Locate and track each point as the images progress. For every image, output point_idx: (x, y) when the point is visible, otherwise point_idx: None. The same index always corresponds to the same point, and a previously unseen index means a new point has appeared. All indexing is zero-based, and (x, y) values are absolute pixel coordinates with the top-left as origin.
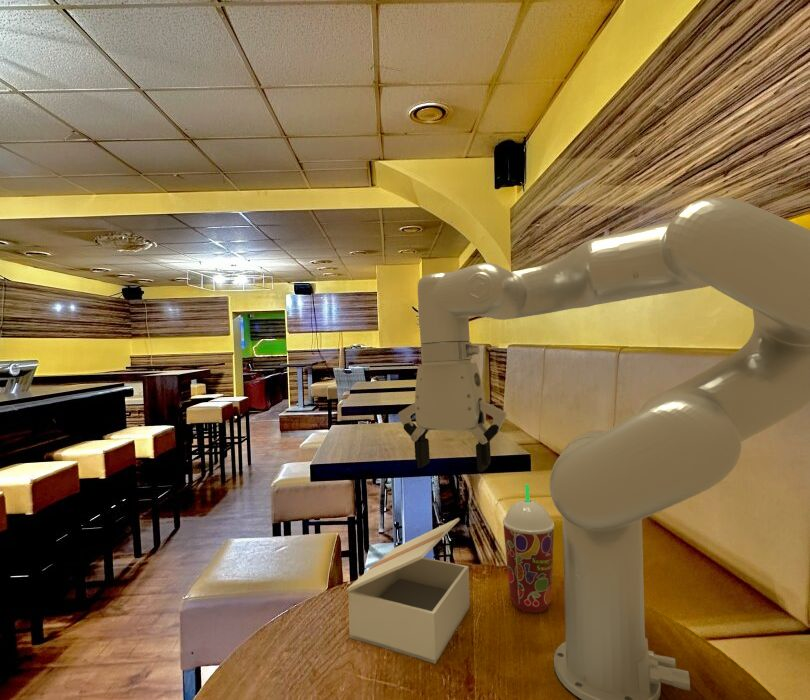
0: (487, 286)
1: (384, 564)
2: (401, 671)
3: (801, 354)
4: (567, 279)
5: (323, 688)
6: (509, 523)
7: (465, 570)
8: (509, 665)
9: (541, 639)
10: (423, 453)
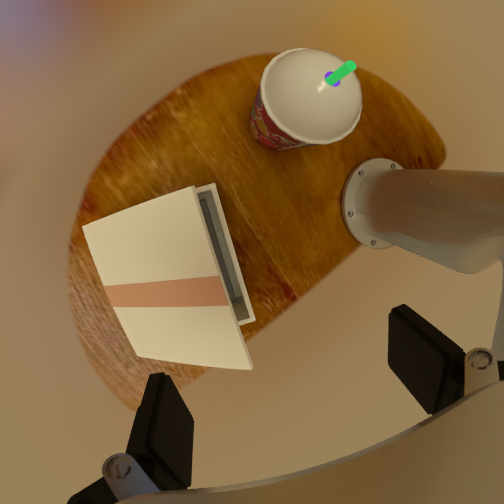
0: None
1: (143, 319)
2: None
3: None
4: None
5: (193, 374)
6: (297, 132)
7: (218, 198)
8: (308, 247)
9: (317, 186)
10: (184, 442)
